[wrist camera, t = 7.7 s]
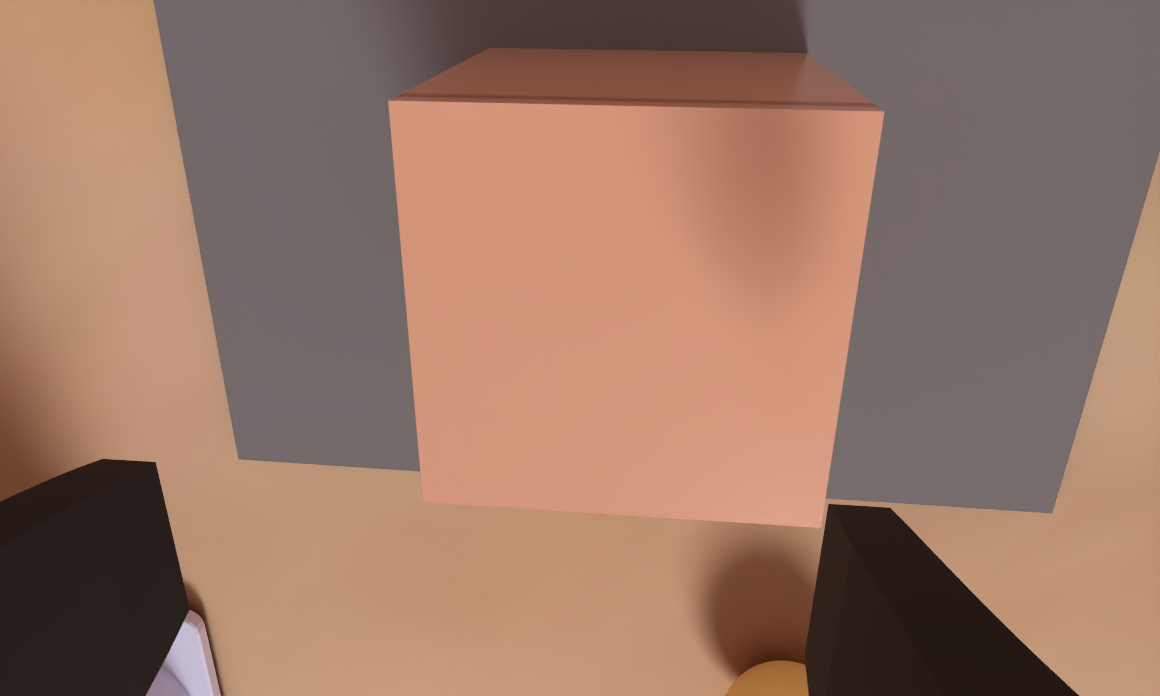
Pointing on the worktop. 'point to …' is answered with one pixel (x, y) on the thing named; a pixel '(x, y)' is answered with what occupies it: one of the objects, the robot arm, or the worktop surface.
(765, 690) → the ball
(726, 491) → the salmon pink cube
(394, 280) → the mat
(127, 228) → the worktop surface
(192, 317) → the worktop surface
